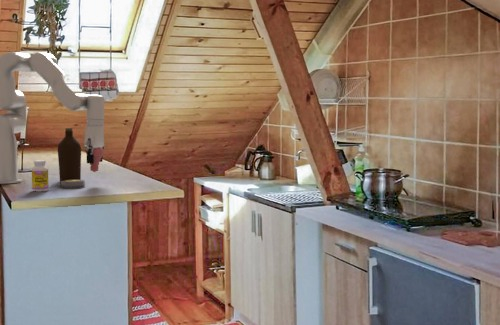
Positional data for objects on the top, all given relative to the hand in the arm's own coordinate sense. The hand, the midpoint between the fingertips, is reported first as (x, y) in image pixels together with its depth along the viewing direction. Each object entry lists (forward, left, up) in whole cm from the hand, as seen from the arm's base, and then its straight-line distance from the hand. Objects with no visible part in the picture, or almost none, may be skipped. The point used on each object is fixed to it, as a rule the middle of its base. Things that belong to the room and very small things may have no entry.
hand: (94, 162), depth 289 cm
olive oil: (-17, +8, -11) cm, 22 cm away
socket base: (-7, -7, -10) cm, 14 cm away
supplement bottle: (-14, -21, -11) cm, 27 cm away
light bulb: (0, 0, -5) cm, 5 cm away
